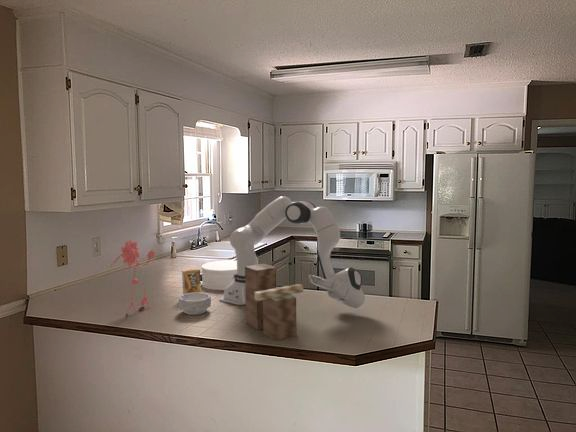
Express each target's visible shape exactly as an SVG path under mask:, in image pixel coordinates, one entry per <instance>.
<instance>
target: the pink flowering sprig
mask: <svg viewBox="0 0 576 432" xmlns="http://www.w3.org/2000/svg"><path fill="white" fill-rule="evenodd" d="M137 245H138V241H136V240H135V241H133V240H132V239H129V240H125V244H124V246H121V253H120V255H118V257H117V258H115V260H114V261H113V262H112V264H111V265H110V266H111V267H112V266H114V264H116V262H117V261H118V260H119V259H120V258H121V257H122V258H123V260H122V261H123V264H127V266H128V267H129V269H132V268H133V279H132V281H131V282H132V284H131V290H130V291H131V293H130V294H131V297H130V298H131V302H130V305H129V306H128V307H129V308H128V309H127V311H126V313H128V312H129V311H130V309H131V307H132V306H133V309H134V312H135V313H136V315H139V314H138V313H139V312H138V311H137V309H136V307H135V305H134V300H133V288H134V287H133V286H134V285H136V284H138V283H139V284H142V285H146V283H145V282H141V281H139V280H138V279H137V278H135V277H136V268H137V267H138V266H140V265H141V266H148V264H149V262H150V261H151V259H153V258H154V256H155V254H156V252H155V251H154V250H152V249H151V250H150V251H149V252H147V256H146V257H147V259H148V260H147V263H139V260H138V259H139V258H140V252H139V247H138V246H137ZM143 296H144V297H142V299H141V300H140V305H141V306H142V307H143V306H145V304H147V306H148V309H151V307H150V304H149V302H148V299H149V298H148V296H147V295H146V291H144V295H143ZM156 305H158V306H159V305H160V304H159V303H158V304H156Z"/></svg>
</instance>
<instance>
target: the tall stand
mask: <svg viewBox="0 0 576 432" xmlns="http://www.w3.org/2000/svg"><path fill="white" fill-rule="evenodd" d="M273 288H278V287H277V267H276V266H273V265H270V264H267V263H260V264H259V263H258V265H251V266H245V292H246V304H245V316H246V317H245V323H246V325H248V326H250V327H252V328H254V330H257V331H259V330H262V329H263V300H260V301H257V300H255V299H254V292H257V291H262V290H268V289H273Z"/></svg>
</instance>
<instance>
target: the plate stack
mask: <svg viewBox="0 0 576 432" xmlns="http://www.w3.org/2000/svg"><path fill="white" fill-rule="evenodd" d="M235 274H237V259H235V260H232V259H230V260H228V259H227V260H215V261H209V262H206V263H203V264H202V265H201V282H202V283H201V287H203V288H205V289H206V290H207V289H208V290H213V291H224V290H225V288H226V287H227V286H228V285H229V284H231V283H232V282H233V281H234V279H235V277H234V275H235ZM233 277H234V278H233Z"/></svg>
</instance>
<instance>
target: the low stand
mask: <svg viewBox="0 0 576 432" xmlns="http://www.w3.org/2000/svg"><path fill="white" fill-rule="evenodd" d="M297 330H298V329H297V297H295V296H294V294H291V295H286V296H281V297H276V298H271V299H266V300H263V334H264V335H266V336H267V337H269V338H271V339H273V340H275V341H280V340H283V339H288V338H292V337H296V336H297V332H298V331H297Z"/></svg>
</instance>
